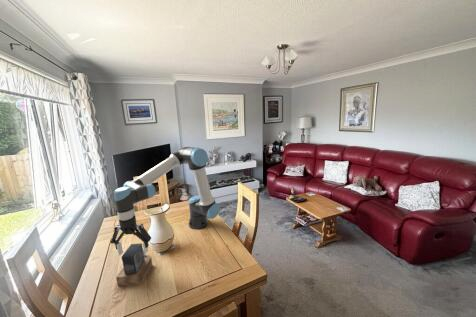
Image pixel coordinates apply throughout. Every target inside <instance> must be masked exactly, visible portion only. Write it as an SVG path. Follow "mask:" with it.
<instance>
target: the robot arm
mask: <svg viewBox="0 0 476 317" xmlns="http://www.w3.org/2000/svg"><path fill="white" fill-rule="evenodd" d="M208 160H209V155H208V153H207V151H206V150H205V149H204V148H200V147H191V146H183V147H182V148H179V149H177V150H176V151H174V152H172V153H171V154H170V155H169V157H167V158H165V160H163V161H161V162H159V163H158V164H157V165H155V166H154V167H152V168H150V169H149V170H147V171H146V172H144V173H143V174H141V175H139V176H138V177H136V178H135V179H133V180H128V181H126V182H124V184H123V186H121V187H118V188H116V189H115V190H114V191H113V199H114V203H115V208H116V213H117V217H118V218H117V219H118V224H117V225H115V227H114V229H113V230H114V231H113V234H112V236H111V240H110V244H114V245H115V246H114V247H115V250H117V254H118V256H119V257H120V256H121V255H123V254H124V250H123V246H122V241H121V239H122V238H123V237H124V235H133V236H136V237H137V238H138V239H139V240H141V242H142V248H144V254H145V255H147V253H148V252H149V249H148V247H149V246H150V244H149V242H150V241H151V240H152V236H151V235H150V233H149V232H148V231H147V230H146V228H145V227H144V224H143V223H140V224H138V225H137V219H136V218H137V217H136V213H135V206H134V204H138V203H140V202H143V201H145V200H147V199H148V200H149V199H151V198H153V197H155V195H156V188H155V186H154V185H153V183H155V181H158V179H160V178H161V177H163V176H164V175H166V174H168V172H170V171H172V170H174V168H176V167H180V166H181V165H185V164H186V165H188V168H189V170H190V171H192V173H193V177H194V181H195V184H196V189H197V193H198V195H194V196H191V197H190V198H189V199H188V204H189V205H188V206H189V220H188V227H189V228H190V229H192V230H200V229H203V228H206V226H208V225H207V224H209V220H208V219H210V220H213V219H215V218H217V216H218V215H219V213H220V210H221V206H220V204H219V203H217V202H216V199H215V197H214V196H213V194H212V192H211V188H210V182H209V179H208V174H207V171H206V167H207V164H208ZM120 231H121V233H120V234H119V232H120ZM118 234H119V236H118Z"/></svg>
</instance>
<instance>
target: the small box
mask: <svg viewBox="0 0 476 317" xmlns="http://www.w3.org/2000/svg"><path fill="white" fill-rule="evenodd" d="M144 258H145V257H144V254H143V242H142V243H130V245H129V246H128V248H127V249H126V250H125V252H123V253H122V256H121V260H122V266H123V267H124V272H125V274H133V273H137V272H138V270H139V268H140V266H141V265H142V263H143V261H144V260H145V259H144Z"/></svg>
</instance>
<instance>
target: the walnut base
mask: <svg viewBox="0 0 476 317" xmlns="http://www.w3.org/2000/svg"><path fill="white" fill-rule="evenodd" d="M144 259H145V260H144V261H143V263H142V265H141V266H140V268H139V270H138V272H137V273H133V274H125V272H124V267H123V268H122V269H121V270H120V271H119V273H118V274H117V275H116V276H115V279H116V284H117V286H119V287H120V286H140V285H143V283H144V280H145V279H146V277H147V275H148V273H149V272H150V270H151V268H152V266H153V261H152V257H151V256H149V257H147V256H146V257H144Z"/></svg>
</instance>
